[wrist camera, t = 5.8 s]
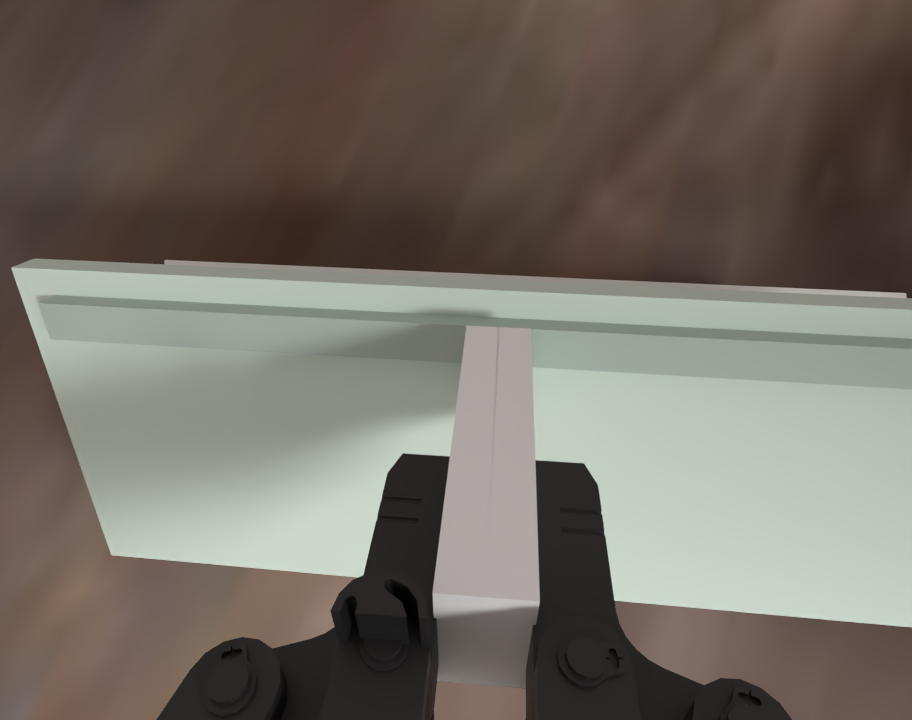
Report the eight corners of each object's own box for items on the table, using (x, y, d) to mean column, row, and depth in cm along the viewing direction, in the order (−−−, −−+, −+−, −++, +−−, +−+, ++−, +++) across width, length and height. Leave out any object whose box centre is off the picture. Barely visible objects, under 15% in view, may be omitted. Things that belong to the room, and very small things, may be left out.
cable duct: (822, 322, 24) (906, 293, 19) (825, 568, 23) (917, 606, 18) (228, 293, 26) (164, 259, 21) (201, 516, 25) (126, 536, 20)
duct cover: (1081, 306, 13) (1140, 330, 12) (917, 606, 18) (948, 647, 16) (34, 258, 15) (-9, 274, 14) (126, 537, 20) (99, 569, 19)
